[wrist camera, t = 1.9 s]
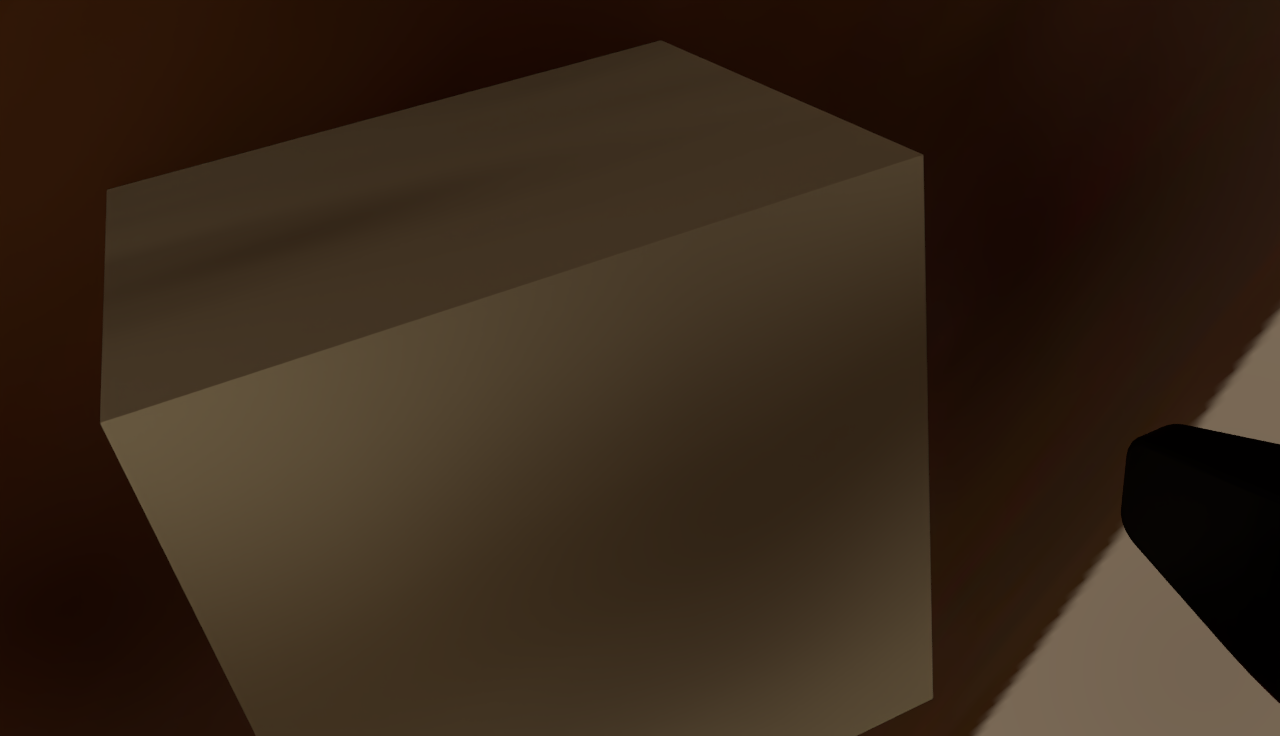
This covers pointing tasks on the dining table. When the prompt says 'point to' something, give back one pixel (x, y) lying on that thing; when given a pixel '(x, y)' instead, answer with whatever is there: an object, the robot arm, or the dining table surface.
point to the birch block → (541, 411)
